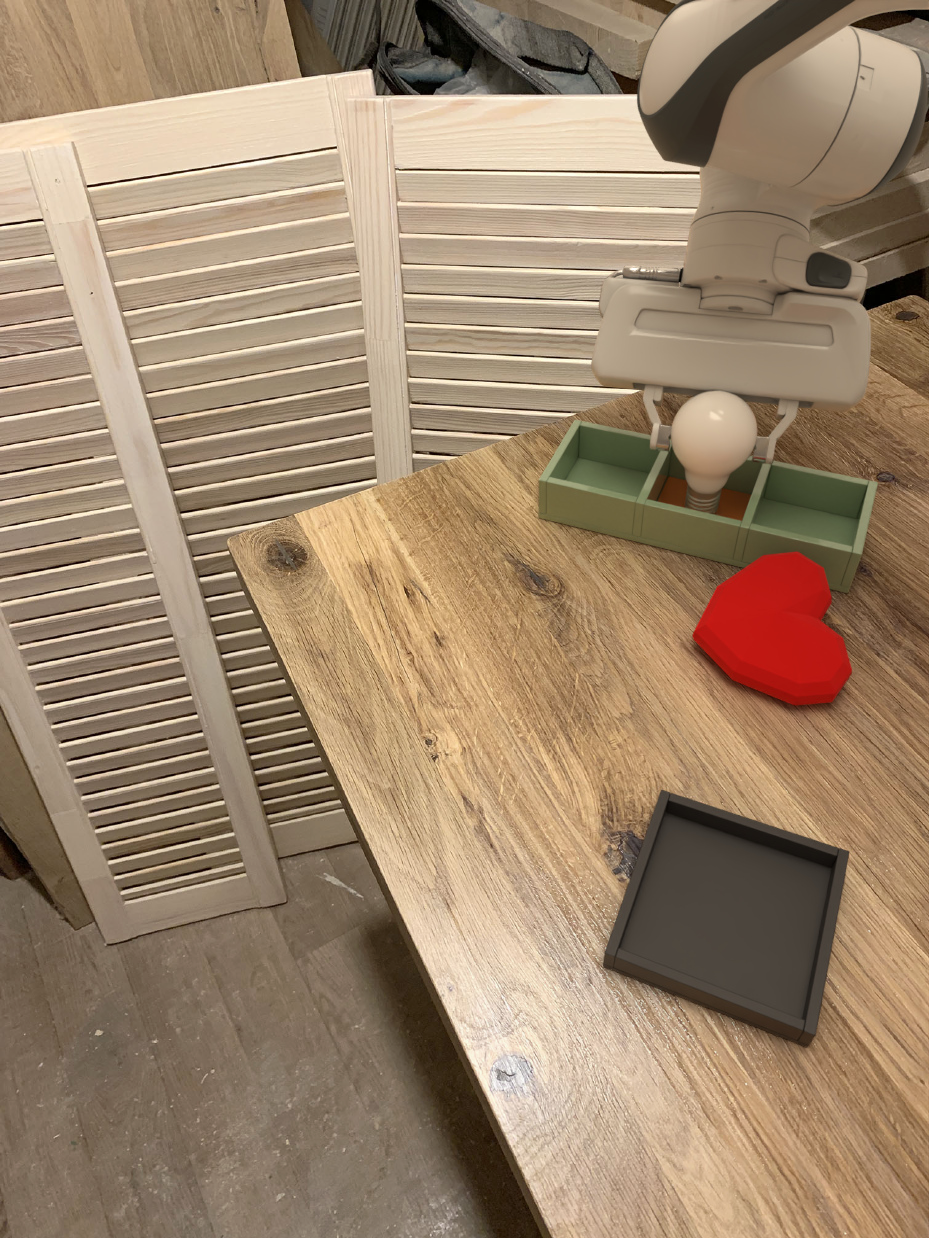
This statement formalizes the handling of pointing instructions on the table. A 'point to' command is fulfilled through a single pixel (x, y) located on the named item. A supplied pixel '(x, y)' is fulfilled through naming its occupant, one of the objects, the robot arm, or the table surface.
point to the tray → (731, 916)
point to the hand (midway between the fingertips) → (710, 456)
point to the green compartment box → (736, 534)
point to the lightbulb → (712, 444)
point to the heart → (776, 630)
